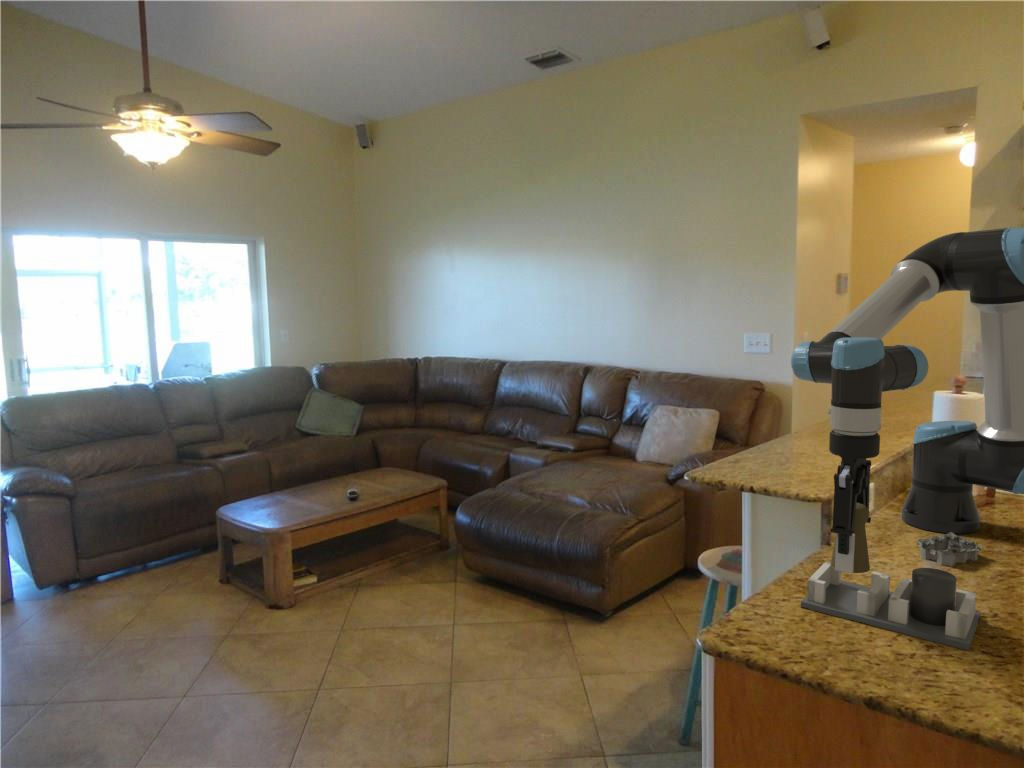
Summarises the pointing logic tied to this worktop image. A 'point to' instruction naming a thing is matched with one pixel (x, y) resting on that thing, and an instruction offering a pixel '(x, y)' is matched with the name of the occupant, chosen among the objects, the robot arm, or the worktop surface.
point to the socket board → (899, 604)
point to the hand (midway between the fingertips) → (849, 564)
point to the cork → (858, 541)
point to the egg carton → (948, 549)
